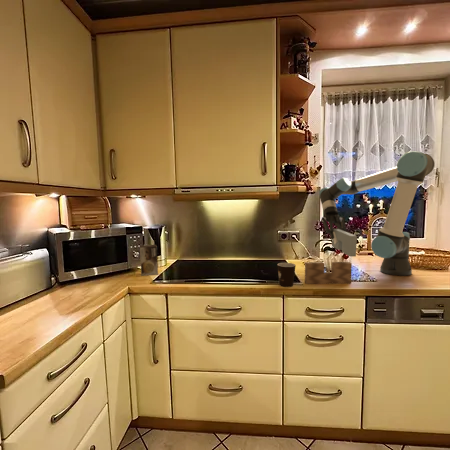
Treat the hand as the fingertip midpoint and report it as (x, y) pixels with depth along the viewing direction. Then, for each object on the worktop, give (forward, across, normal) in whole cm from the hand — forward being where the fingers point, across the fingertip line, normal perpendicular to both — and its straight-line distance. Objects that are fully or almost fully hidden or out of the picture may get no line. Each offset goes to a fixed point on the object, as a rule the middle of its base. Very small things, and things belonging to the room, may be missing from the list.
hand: (339, 243), depth 156 cm
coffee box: (+10, +105, -16) cm, 106 cm away
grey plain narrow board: (+6, 0, +1) cm, 6 cm away
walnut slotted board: (+23, +11, -1) cm, 25 cm away
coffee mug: (+24, +32, 0) cm, 40 cm away
